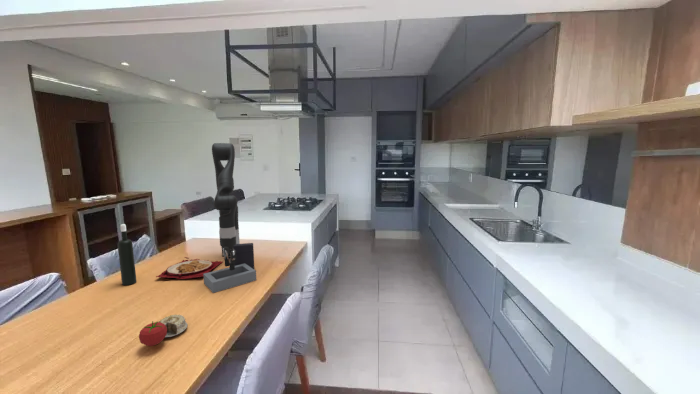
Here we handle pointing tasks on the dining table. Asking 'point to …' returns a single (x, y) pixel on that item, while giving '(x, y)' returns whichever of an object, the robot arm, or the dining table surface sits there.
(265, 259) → the dining table surface
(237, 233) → the robot arm
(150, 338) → the tomato
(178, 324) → the cake
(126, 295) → the dining table surface
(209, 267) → the plate with food
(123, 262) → the wine bottle
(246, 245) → the dark bevelled slab
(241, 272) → the tray
